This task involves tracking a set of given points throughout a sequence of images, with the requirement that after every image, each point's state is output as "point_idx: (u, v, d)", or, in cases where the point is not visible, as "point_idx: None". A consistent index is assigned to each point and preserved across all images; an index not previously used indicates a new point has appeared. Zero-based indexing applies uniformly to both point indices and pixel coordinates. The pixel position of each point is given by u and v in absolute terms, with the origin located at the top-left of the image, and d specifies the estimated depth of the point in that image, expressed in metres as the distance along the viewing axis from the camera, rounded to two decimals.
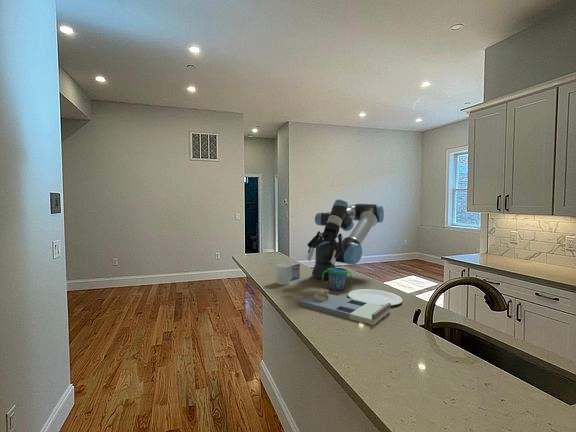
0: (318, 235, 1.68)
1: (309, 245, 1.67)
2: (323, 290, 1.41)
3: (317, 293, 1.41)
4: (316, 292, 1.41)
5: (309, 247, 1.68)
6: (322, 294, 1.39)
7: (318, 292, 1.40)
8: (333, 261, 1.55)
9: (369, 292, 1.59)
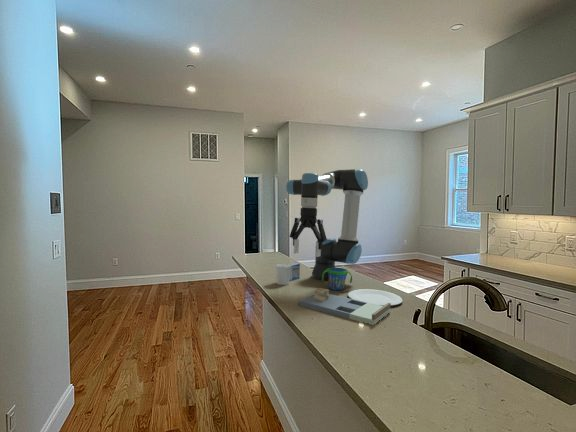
0: (296, 222, 1.49)
1: (292, 236, 1.50)
2: (323, 290, 1.41)
3: (317, 293, 1.41)
4: (316, 292, 1.41)
5: None
6: (322, 294, 1.39)
7: (318, 292, 1.40)
8: (319, 254, 1.43)
9: (369, 292, 1.59)
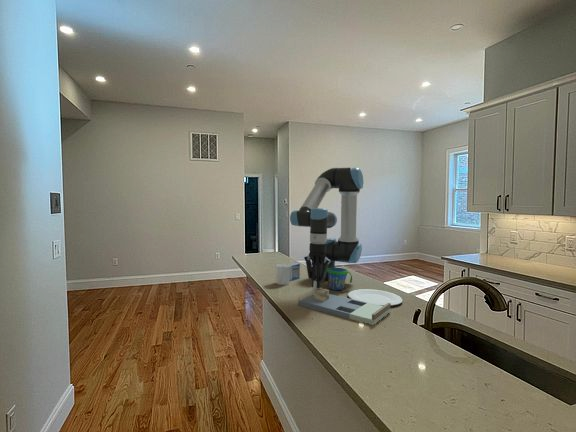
0: (308, 260, 1.45)
1: (311, 276, 1.44)
2: (323, 290, 1.41)
3: (317, 293, 1.41)
4: (316, 292, 1.41)
5: None
6: (322, 294, 1.39)
7: (318, 292, 1.40)
8: None
9: (369, 292, 1.59)
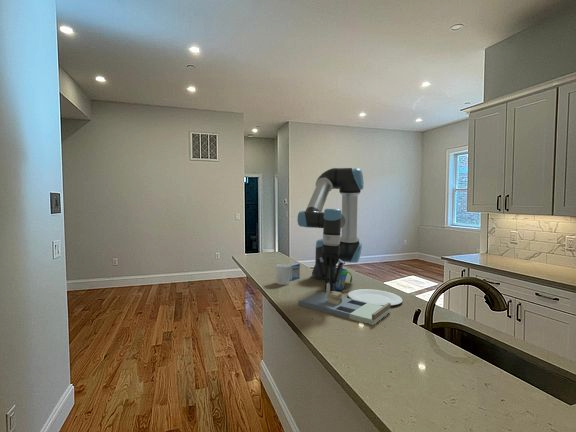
0: (321, 262, 1.41)
1: (324, 278, 1.40)
2: (337, 293, 1.37)
3: (330, 296, 1.37)
4: (329, 295, 1.37)
5: None
6: (336, 297, 1.35)
7: (332, 295, 1.36)
8: None
9: (369, 292, 1.59)
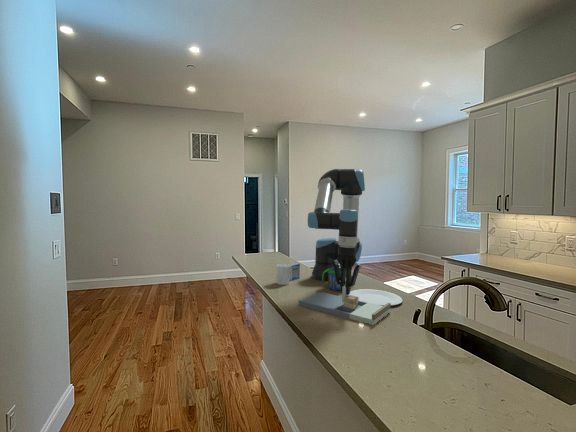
0: (336, 265, 1.36)
1: (339, 281, 1.36)
2: (353, 297, 1.32)
3: (346, 300, 1.32)
4: (345, 299, 1.32)
5: None
6: (352, 301, 1.30)
7: (348, 299, 1.31)
8: None
9: (369, 292, 1.59)
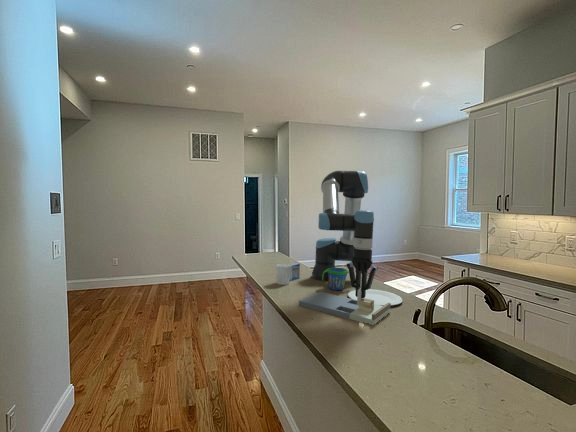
0: (351, 267, 1.32)
1: (354, 285, 1.32)
2: (368, 301, 1.28)
3: (362, 304, 1.28)
4: (361, 303, 1.28)
5: None
6: (368, 305, 1.26)
7: (363, 303, 1.27)
8: None
9: (369, 292, 1.59)
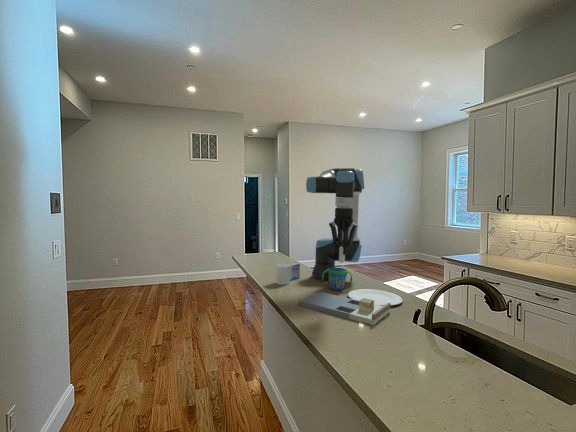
0: (333, 226, 1.39)
1: (336, 242, 1.39)
2: (368, 301, 1.28)
3: (362, 304, 1.28)
4: (361, 303, 1.28)
5: (336, 244, 1.40)
6: (368, 305, 1.26)
7: (363, 303, 1.27)
8: (343, 259, 1.38)
9: (369, 292, 1.59)
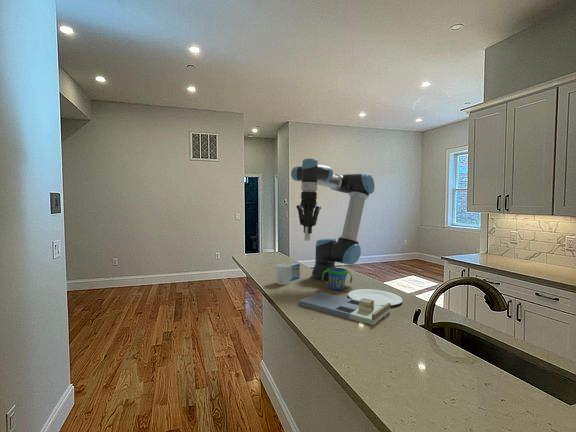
0: (300, 209, 1.55)
1: (302, 223, 1.55)
2: (368, 301, 1.28)
3: (362, 304, 1.28)
4: (361, 303, 1.28)
5: (303, 225, 1.56)
6: (368, 305, 1.26)
7: (363, 303, 1.27)
8: (308, 238, 1.54)
9: (369, 292, 1.59)
